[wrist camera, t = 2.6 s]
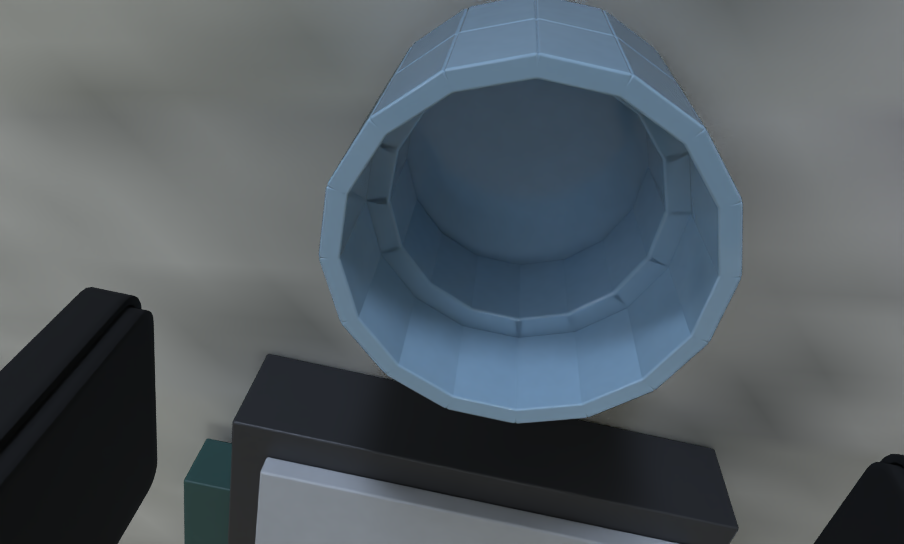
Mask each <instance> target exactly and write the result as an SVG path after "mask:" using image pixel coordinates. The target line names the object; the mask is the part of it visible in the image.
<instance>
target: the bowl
mask: <svg viewBox="0 0 904 544" xmlns="http://www.w3.org/2000/svg"><path fill="white" fill-rule="evenodd" d="M742 235H743V203H742V198H741V196H740V194H739V192H738V190H737V188H736V186H735V184H734V182H733V180H732V178H731V176H730V174H729V172H728V170H727V169H726V167H725V165H724V163H723V161H722V159H721V157H720V155H719V153H718V151H717V149H716V147H715V145H714V143H713V141H712V139H711V137H710V135H709V133H708V131H707V129H706V128H705V126H704V125H703V123H702V121H701V120H700V118H699V117H698V115H697V113H696V112H695V110H694V109H693V107H692V105H691V104H690V102H689V101H688V99H687V98H686V96H685V94H684V93H683V91H682V90H681V88H680V86H679V85H678V83H677V82H676V80H675V79H674V77H673V76H672V74H671V72H670V71H669V69H668V68H667V66H666V64H665V63H664V61H663V60H662V58H661V56H660V55H659V53H658V52H657V51H656V50H655V48H653V47H652V46H651V45H649V44H648V43H647V42H646V41H644V40H643V39H642V38H640V37H639V36H638V35H636V34H635V33H634V32H632V31H631V30H630V29H629V28H627V27H626V26H625V25H623V24H622V23H621V22H619V21H618V20H617V19H615V18H614V17H613V16H612V15H610V14H609V13H608V12H606V11H603V10H602V9H600V8H595V7H591V6H587V5H582V4H578V3H573V2H569V1H565V0H502V1H496V2H491V3H486V4H481V5H476V6H470V7H469V8H468V9H464V10H462V11H461V12H459V13H458V14H456V15H455V16H453V17H452V18H450V19H449V20H447V21H446V22H445V23H443V24H442V25H440V26H439V27H437V28H436V29H434V30H433V31H431V32H430V33H428V34H427V35H425V36H424V37H423V38H421V39H420V40H418V41H417V42H415V43H414V44H413V46H412V47H410V48H409V50H408V51H407V53H406V55H405V56H404V58H403V59H402V61H401V63H400V64H399V66H398V67H397V69H396V71H395V72H394V74H393V75H392V77H391V79H390V80H389V82H388V83H387V85H386V87H385V88H384V90H383V91H382V93H381V95H380V96H379V98H378V100H377V101H376V103H375V105H374V106H373V108H372V110H371V111H370V113H369V115H368V116H367V118H366V120H365V121H364V123H363V125H362V126H361V128H360V130H359V131H358V133H357V135H356V136H355V138H354V140H353V141H352V143H351V145H350V146H349V148H348V150H347V151H346V153H345V155H344V156H343V158H342V160H341V161H340V163H339V165H338V166H337V168H336V170H335V171H334V173H333V175H332V176H331V178H330V180H329V182H328V185H327V187H326V193H325V202H324V211H323V220H322V229H321V238H320V247H319V260H320V263H321V266H322V269H323V272H324V275H325V278H326V281H327V284H328V287H329V290H330V293H331V296H332V299H333V302H334V305H335V308H336V311H337V314H338V316H339V319H340V322H342V325H343V326H344V327H345V329H346V330H347V331H348V332H349V333H350V334H351V335H352V337H353V338H354V339H355V340H356V341H357V342H358V343H359V345H360V346H361V347H362V348H363V349H364V350H365V352H366V353H367V354H368V355H369V356H370V357H371V358H372V360H373V361H374V362H375V363H376V364H377V365H378V367H379V368H380V369H381V370H382V371H383V372H384V373H385V374H387V376H389V377H391V378H392V379H394V380H396V381H398V382H399V383H401V384H403V385H405V386H406V387H408V388H410V389H412V390H414V391H415V392H417V393H419V394H421V395H422V396H424V397H426V398H428V399H429V400H431V401H433V402H435V403H436V404H438V405H440V406H442V407H444V408H447V409H449V410H453V411H458V412H463V413H467V414H472V415H477V416H481V417H486V418H491V419H496V420H500V421H505V422H510V423H515V422H516V423H517V424H519V423H531V422H543V421H555V420H567V419H579V418H586V417H591V416H593V415H596V414H598V413H601V412H603V411H606V410H608V409H611V408H613V407H615V406H618V405H620V404H623V403H625V402H628V401H630V400H633V399H635V398H638V397H640V396H643V395H645V394H648V393H650V392H653V391H654V390H655V389H657V388H658V387H659V386H661V385H662V384H663V383H664V382H665V381H666V380H667V379H669V378H670V377H671V376H672V375H673V374H674V373H675V372H677V371H678V370H679V369H680V368H681V367H682V366H683V365H685V364H686V363H687V362H688V361H689V360H690V359H691V358H692V357H694V356H695V355H696V354H697V353H698V352H699V351H700V350H702V349H703V348H704V347H705V346H706V345H707V344H708V342H709V341H710V340H711V338H712V336H713V334H714V332H715V330H716V328H717V326H718V324H719V322H720V320H721V318H722V316H723V314H724V312H725V310H726V308H727V306H728V304H729V302H730V300H731V298H732V296H733V294H734V292H735V290H736V288H737V286H738V284H739V282H740V280H741V276H742Z"/></svg>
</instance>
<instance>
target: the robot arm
mask: <svg viewBox="0 0 904 544" xmlns="http://www.w3.org/2000/svg"><path fill="white" fill-rule="evenodd" d="M156 468H157V433H156V395H155V357H154V321H153V315H152V313H151V312H150V311H147V310H142V309H141V303H140V301H139V299H138V298H137V297H135V296H132V295H128V294H123V293H118V292H113V291H108V290H103V289H99V288H94V287H89V288H86V289H84V290H83V291H81V292H80V293H79V294H78V295H77V296H76V297H75V298H74V299H73V300H72V301H71V302H70V303H69V304H68V305H67V306H66V307H65V308H64V309H63V310H62V311H61V312H60V313H59V314H58V315H57V316H56V317H55V318H54V319H53V320H52V321H51V322H50V323H49V324H48V325H47V326H46V327H45V328H44V329H43V330H42V331H41V332H40V333H39V334H38V335H36V336H35V337H34V338H33V339H32V340H31V341H30V342H29V343H28V344H27V345H26V346H25V347H24V348H23V349H22V350H21V351H20V352H19V353H18V354H17V355H16V356H15V357H14V358H13V359H12V360H11V361H10V362H9V363H8V364H7V365H6V366H5V367H4V368H3V369H2V370H1V371H0V544H118V542H119V540H120V539H121V537H122V535H123V534H124V532H125V530H126V528H127V527H128V525H129V523H130V522H131V520H132V518H133V517H134V515H135V513H136V511H137V510H138V508H139V506H140V505H141V503H142V501H143V499H144V498H145V496H146V494H147V493H148V491H149V489H150V487H151V484H152V482H153V479H154V476H155V473H156ZM814 544H904V455H900V454H890V455H888V456H886V457H884V458H883V459H882V460H881V461H880V462H875V463H873V464H871V465H870V466H869V467H868V468H867V469H866V471H865V472H864V473H863V475H862V476H861V478H860V479H859V480H858V482H857V483H856V485H855V486H854V488H853V489H852V490H851V492H850V493H849V495H848V496H847V497H846V499H845V500H844V502H843V503H842V505H841V506H840V507H839V509H838V510H837V512H836V513H835V514H834V516H833V517H832V519H831V520H830V521H829V523H828V524H827V526H826V527H825V529H824V530H823V531H822V533H821V534H820V536H819V537H818V538H817V540H816V541H815V543H814Z"/></svg>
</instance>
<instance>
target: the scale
mask: <svg viewBox="0 0 904 544" xmlns="http://www.w3.org/2000/svg"><path fill="white" fill-rule="evenodd" d="M184 528H185V544H730V542H731V540H732V539H733V537H734V536H735V534H736V533H737V531H738V525H737V521H736V518H735V515H734V512H733V508H732V505H731V502H730V499H729V496H728V492H727V489H726V486H725V483H724V479H723V476H722V473H721V470H720V466H719V463H718V460H717V457H716V453H715V450H714V449H711V448H706V447H701V446H697V445H692V444H687V443H683V442H678V441H673V440H669V439H664V438H659V437H655V436H650V435H645V434H641V433H636V432H631V431H627V430H622V429H617V428H612V427H608V426H603V425H598V424H594V423H589V422H584V421H580V420H575V419H567V420H555V421H543V422H531V423H519V424H517V423H516V422H515V423H510V422H505V421H500V420H496V419H491V418H486V417H481V416H477V415H472V414H467V413H463V412H458V411H453V410H449V409H447V408H444V407H442V406H440V405H438V404H436V403H435V402H433V401H431V400H429V399H428V398H426V397H424V396H422V395H421V394H419V393H417V392H415V391H414V390H412V389H410V388H408V387H406V386H405V385H403V384H401V383H399V382H397V381H393V380H388V379H383V378H379V377H374V376H369V375H365V374H360V373H355V372H351V371H346V370H341V369H337V368H332V367H327V366H323V365H318V364H313V363H308V362H304V361H299V360H294V359H290V358H285V357H280V356H276V355H271V354H268V355H267V356H266V358H265V360H264V362H263V364H262V366H261V368H260V370H259V372H258V374H257V376H256V378H255V380H254V382H253V383H252V385H251V387H250V389H249V391H248V393H247V395H246V397H245V399H244V401H243V403H242V405H241V407H240V409H239V411H238V413H237V415H236V417H235V418H234V420H233V428H232V444H231V443H227V442H222V441H217V440H212V439H206V441H205V443H204V445H203V446H202V448H201V450H200V452H199V454H198V456H197V457H196V459H195V461H194V463H193V465H192V467H191V468H190V470H189V472H188V474H187V476H186V478H185V479H184Z"/></svg>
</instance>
